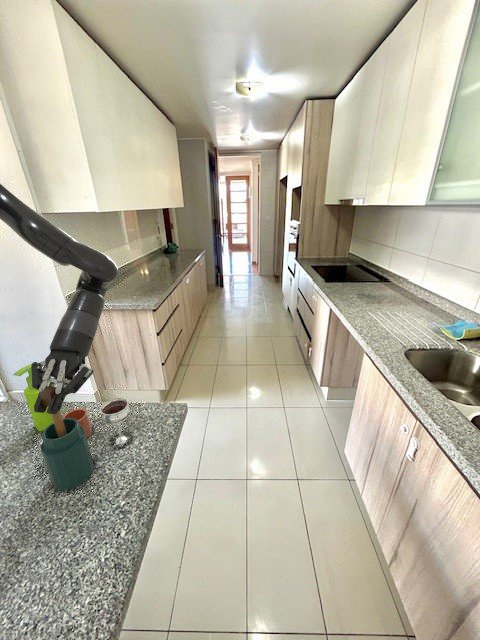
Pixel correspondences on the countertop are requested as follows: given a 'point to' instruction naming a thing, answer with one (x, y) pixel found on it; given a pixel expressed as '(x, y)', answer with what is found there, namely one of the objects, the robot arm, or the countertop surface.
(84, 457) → the bottle
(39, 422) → the soap dispenser
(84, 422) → the brush cup
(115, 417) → the wineglass
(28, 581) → the countertop surface
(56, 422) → the brush
